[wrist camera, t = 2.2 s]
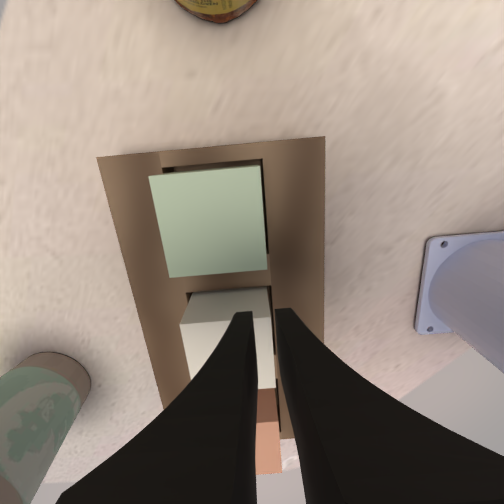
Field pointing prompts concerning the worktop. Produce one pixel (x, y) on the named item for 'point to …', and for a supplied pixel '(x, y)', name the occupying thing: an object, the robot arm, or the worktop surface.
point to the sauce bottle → (216, 8)
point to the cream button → (217, 321)
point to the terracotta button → (267, 434)
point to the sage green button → (211, 220)
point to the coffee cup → (36, 420)
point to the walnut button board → (181, 288)
